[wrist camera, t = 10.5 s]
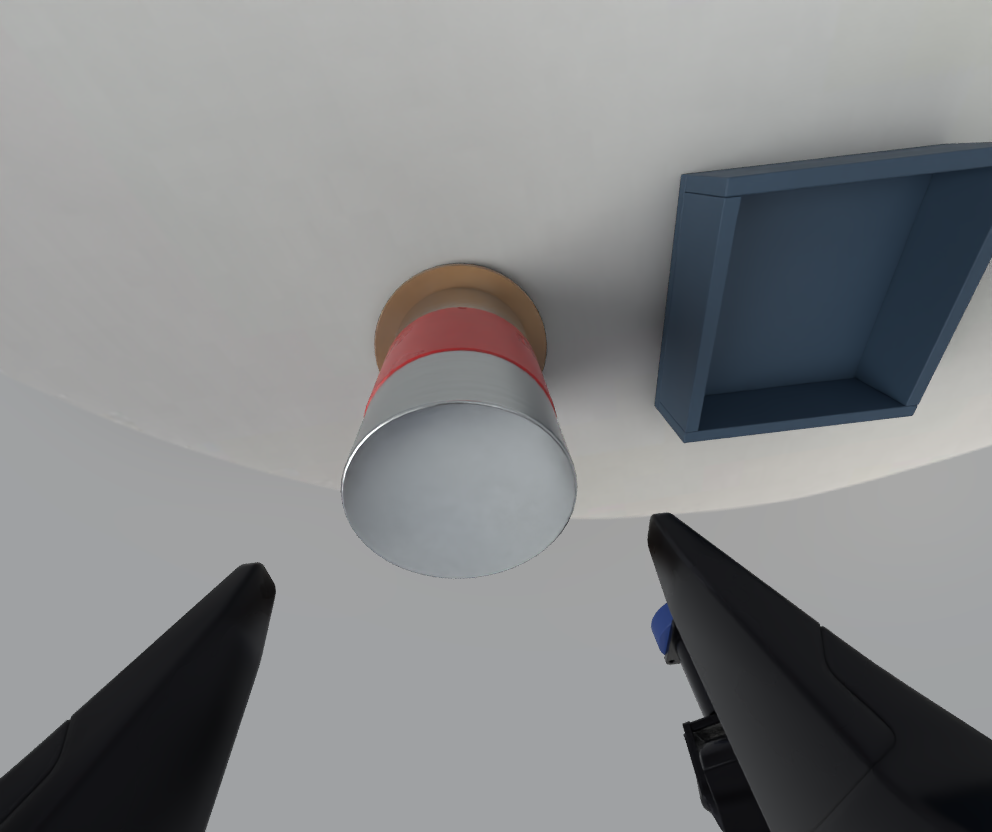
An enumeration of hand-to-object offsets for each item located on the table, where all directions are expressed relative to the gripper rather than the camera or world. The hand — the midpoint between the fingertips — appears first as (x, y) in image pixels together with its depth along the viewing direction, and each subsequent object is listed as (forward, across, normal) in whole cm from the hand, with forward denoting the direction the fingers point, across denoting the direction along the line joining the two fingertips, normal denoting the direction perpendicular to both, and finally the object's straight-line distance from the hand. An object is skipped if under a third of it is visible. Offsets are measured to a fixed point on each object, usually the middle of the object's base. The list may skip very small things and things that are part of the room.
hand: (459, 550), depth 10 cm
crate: (+12, -15, -1) cm, 19 cm away
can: (+12, 0, 0) cm, 12 cm away
